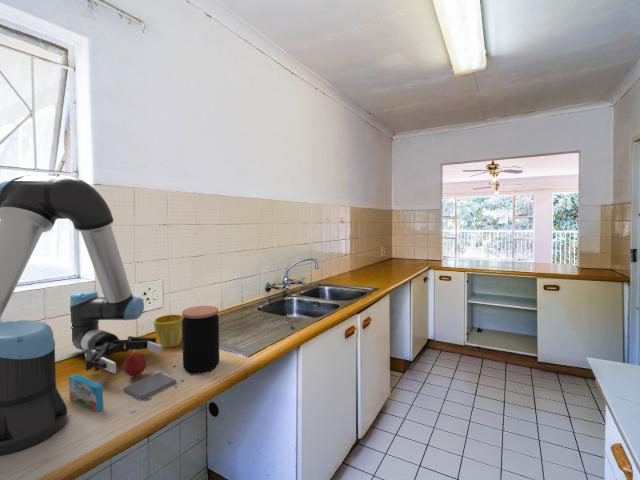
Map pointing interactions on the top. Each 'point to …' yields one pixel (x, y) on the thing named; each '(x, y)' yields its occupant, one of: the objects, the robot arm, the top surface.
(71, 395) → the blue flat box
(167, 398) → the top surface
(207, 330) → the coffee jar
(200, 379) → the top surface
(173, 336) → the plant pot
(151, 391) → the slate trivet
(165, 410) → the top surface
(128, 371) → the onion
